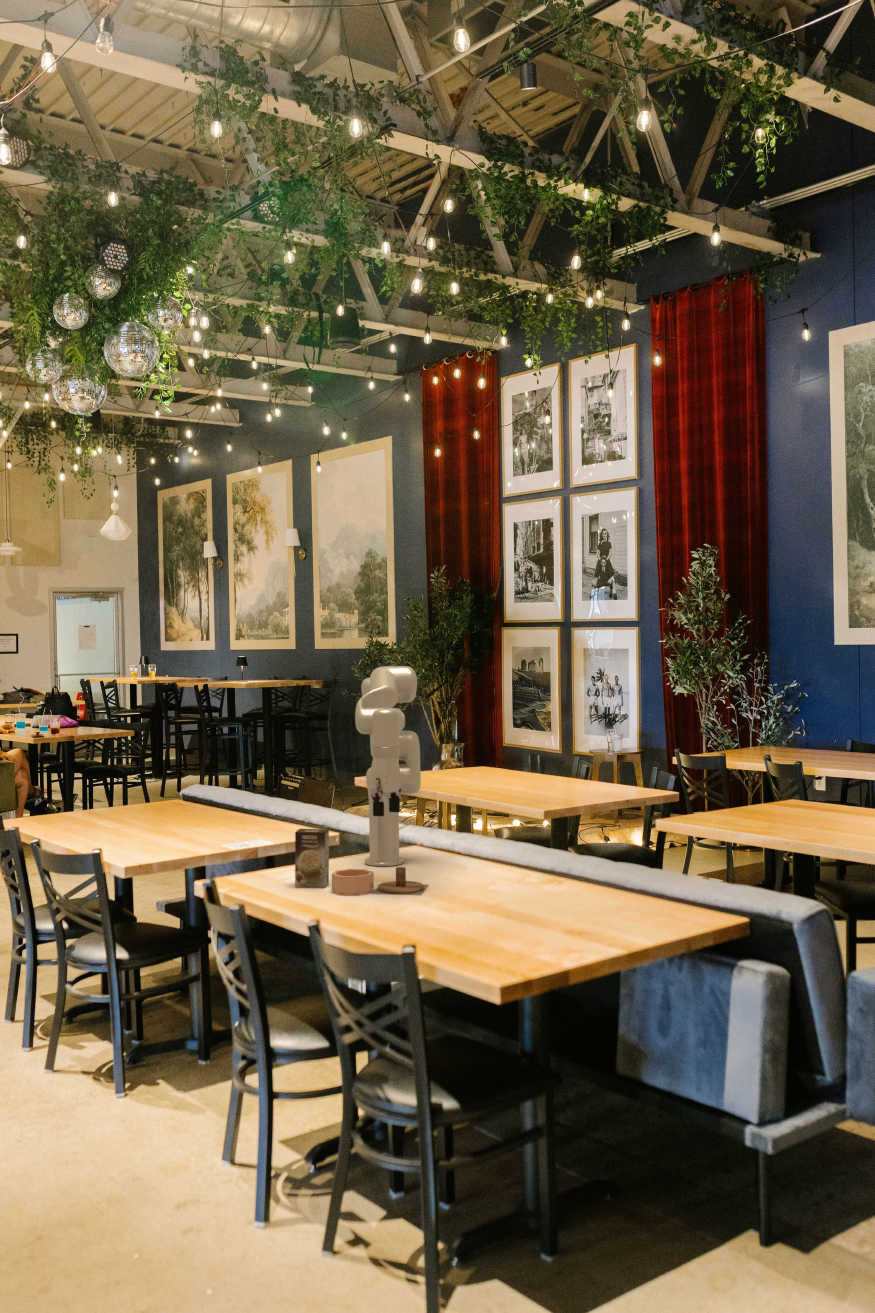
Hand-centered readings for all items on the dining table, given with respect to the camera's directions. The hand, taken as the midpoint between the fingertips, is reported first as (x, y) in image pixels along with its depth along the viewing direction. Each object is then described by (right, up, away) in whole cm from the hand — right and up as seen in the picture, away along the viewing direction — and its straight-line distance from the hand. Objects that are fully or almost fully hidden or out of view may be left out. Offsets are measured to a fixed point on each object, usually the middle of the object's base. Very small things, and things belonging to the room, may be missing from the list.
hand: (386, 814), depth 299 cm
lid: (+4, -21, +1) cm, 22 cm away
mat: (+4, -22, +1) cm, 22 cm away
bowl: (-9, -22, -1) cm, 24 cm away
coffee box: (-22, -22, +9) cm, 33 cm away
